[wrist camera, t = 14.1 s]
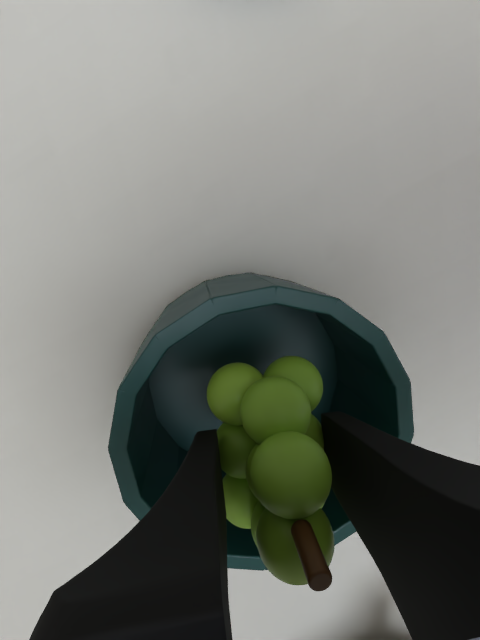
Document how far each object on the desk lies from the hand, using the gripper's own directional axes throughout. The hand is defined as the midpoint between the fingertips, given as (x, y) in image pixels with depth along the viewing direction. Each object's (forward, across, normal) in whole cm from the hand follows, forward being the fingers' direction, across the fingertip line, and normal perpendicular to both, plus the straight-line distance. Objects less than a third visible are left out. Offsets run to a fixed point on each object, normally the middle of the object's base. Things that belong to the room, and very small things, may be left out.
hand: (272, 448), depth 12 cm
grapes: (+1, 0, 0) cm, 1 cm away
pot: (+6, 0, 0) cm, 6 cm away
